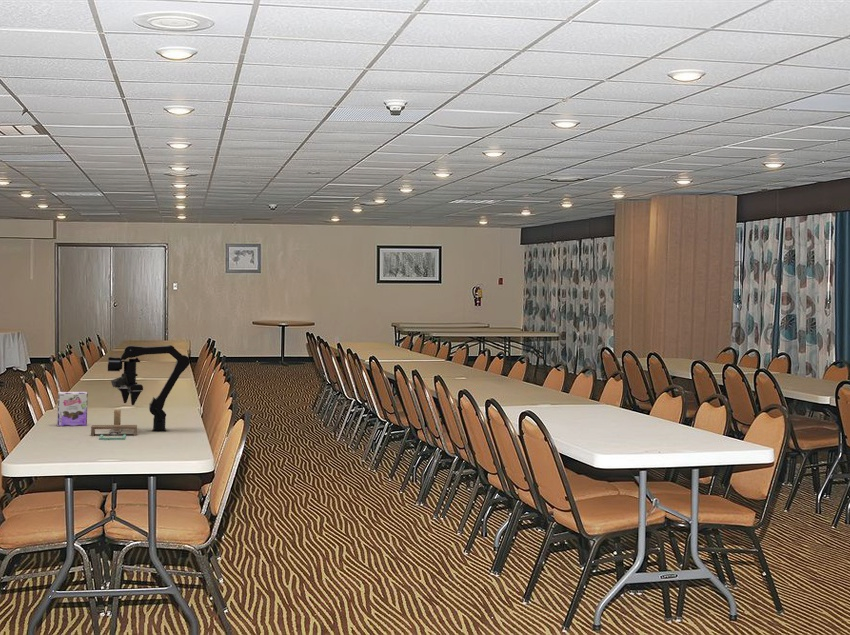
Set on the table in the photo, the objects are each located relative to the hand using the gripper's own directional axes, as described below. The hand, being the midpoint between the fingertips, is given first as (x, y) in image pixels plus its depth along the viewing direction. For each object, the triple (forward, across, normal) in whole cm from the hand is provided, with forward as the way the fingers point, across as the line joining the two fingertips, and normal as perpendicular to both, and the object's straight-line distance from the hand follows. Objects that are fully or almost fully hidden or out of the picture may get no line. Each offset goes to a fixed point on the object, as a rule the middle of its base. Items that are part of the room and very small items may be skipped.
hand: (128, 404), depth 476 cm
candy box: (+13, -31, -16) cm, 37 cm away
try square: (+13, -5, -4) cm, 15 cm away
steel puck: (+13, +9, -11) cm, 19 cm away
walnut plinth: (+13, +9, -11) cm, 19 cm away
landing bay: (+13, +18, -15) cm, 27 cm away
